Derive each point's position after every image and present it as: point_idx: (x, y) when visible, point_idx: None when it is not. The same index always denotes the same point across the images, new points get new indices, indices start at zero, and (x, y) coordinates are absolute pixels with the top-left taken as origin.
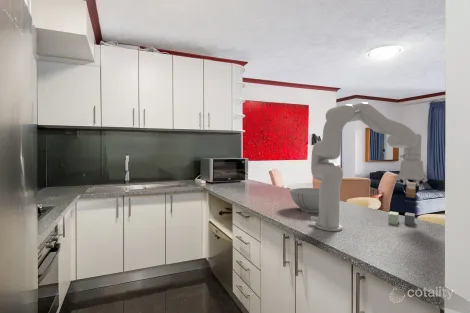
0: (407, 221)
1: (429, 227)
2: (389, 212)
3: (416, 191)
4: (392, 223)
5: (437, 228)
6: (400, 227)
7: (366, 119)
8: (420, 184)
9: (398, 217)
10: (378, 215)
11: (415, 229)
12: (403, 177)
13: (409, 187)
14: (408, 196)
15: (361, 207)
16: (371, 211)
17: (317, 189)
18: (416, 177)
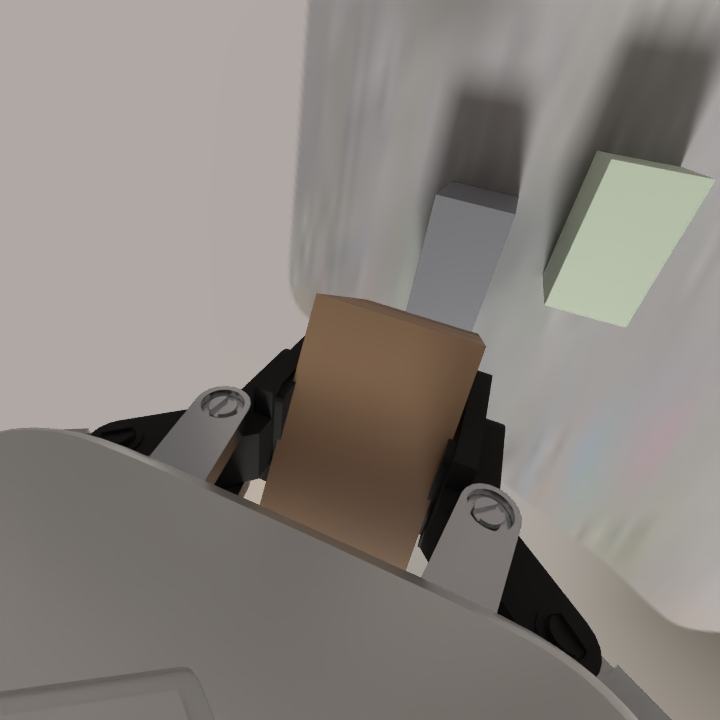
0: (493, 197)
1: (349, 185)
2: (659, 270)
3: None
4: (639, 159)
5: (305, 182)
6: (606, 23)
7: None
8: (183, 410)
9: (545, 283)
10: (653, 425)
11: (471, 28)
12: (531, 690)
13: (400, 387)
14: (445, 324)
15: (699, 617)
16: (662, 527)
17: None
18: (79, 510)
